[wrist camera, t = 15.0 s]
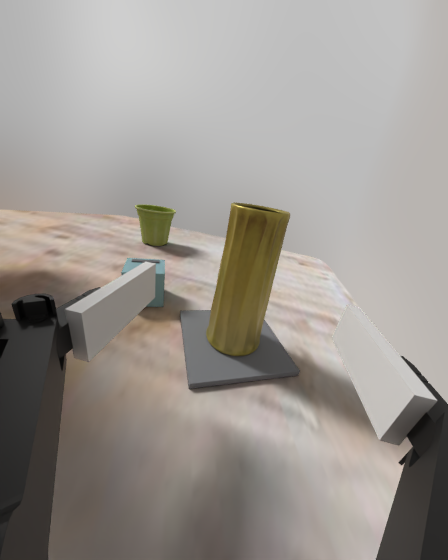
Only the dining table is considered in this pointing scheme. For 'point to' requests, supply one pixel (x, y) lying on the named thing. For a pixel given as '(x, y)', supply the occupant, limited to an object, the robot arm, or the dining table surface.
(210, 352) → the slate mat
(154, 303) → the letter cube
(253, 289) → the vase
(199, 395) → the dining table surface
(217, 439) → the dining table surface
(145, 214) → the plant pot
